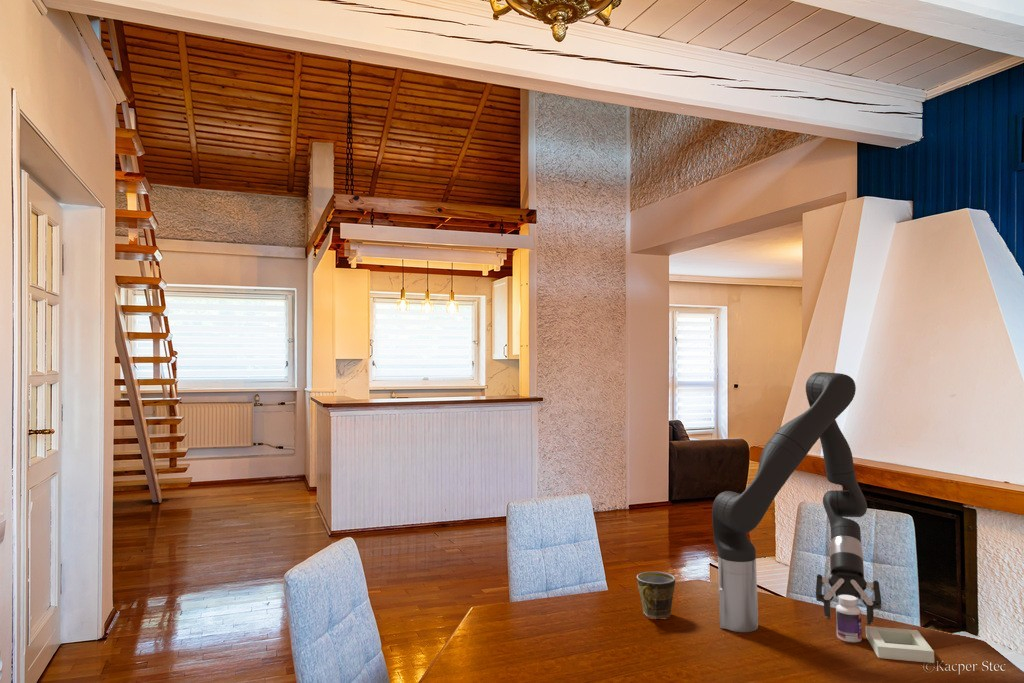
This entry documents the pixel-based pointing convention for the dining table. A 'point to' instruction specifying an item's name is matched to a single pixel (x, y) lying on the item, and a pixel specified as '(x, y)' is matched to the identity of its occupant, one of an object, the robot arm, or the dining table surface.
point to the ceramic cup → (656, 593)
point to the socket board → (912, 652)
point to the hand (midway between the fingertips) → (848, 620)
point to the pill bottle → (848, 619)
